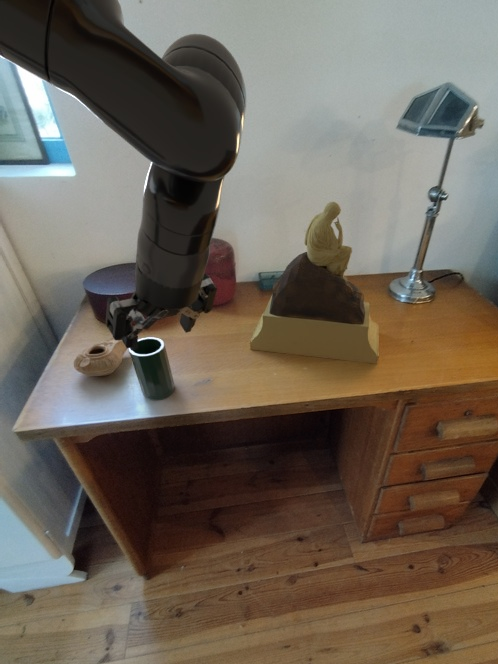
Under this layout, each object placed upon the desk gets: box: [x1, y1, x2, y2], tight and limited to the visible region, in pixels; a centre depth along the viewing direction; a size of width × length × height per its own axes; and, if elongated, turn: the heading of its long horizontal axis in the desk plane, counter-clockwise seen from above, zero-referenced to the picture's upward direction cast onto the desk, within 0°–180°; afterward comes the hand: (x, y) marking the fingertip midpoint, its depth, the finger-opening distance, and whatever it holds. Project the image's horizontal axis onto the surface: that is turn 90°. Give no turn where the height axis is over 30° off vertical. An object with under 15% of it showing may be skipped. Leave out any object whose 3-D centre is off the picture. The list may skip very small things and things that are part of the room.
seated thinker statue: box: [249, 201, 380, 365], centre depth 78 cm, size 28×13×30 cm, turn 81°
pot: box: [128, 336, 176, 401], centre depth 70 cm, size 6×6×10 cm
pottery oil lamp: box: [73, 337, 128, 377], centre depth 77 cm, size 9×12×7 cm
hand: (158, 335), depth 57 cm, fingers open, 8 cm apart
